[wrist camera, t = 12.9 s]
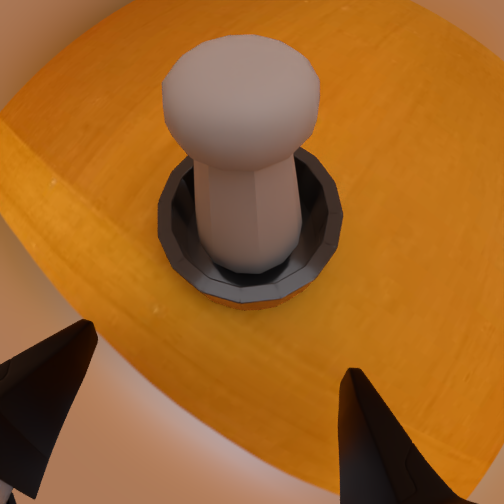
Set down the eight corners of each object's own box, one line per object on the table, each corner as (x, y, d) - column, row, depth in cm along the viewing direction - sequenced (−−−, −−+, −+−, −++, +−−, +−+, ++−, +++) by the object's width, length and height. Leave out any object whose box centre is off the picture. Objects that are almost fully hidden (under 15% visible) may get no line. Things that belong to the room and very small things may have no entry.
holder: (335, 299, 18) (358, 287, 14) (182, 317, 18) (160, 311, 13) (309, 166, 21) (319, 127, 16) (177, 181, 20) (159, 145, 16)
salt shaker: (285, 292, 17) (350, 184, 5) (193, 270, 18) (82, 141, 5) (303, 205, 19) (355, 31, 6) (219, 187, 19) (178, 12, 7)
